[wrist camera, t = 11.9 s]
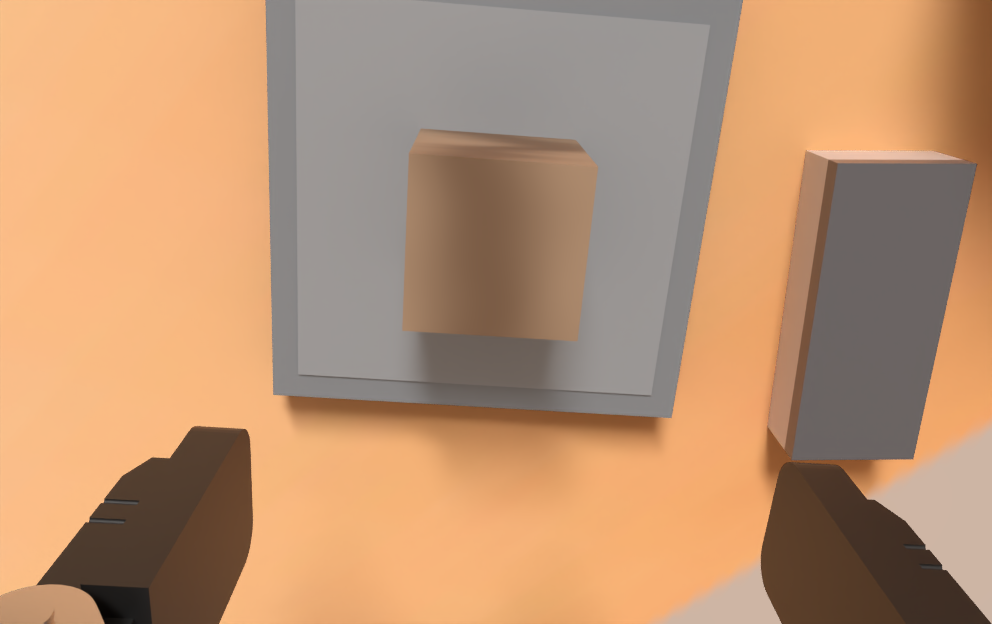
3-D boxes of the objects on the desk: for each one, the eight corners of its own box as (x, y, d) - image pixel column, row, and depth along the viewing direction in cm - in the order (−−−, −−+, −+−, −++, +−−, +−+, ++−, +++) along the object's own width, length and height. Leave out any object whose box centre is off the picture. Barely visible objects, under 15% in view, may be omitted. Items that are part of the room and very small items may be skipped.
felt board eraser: (802, 149, 31) (837, 163, 28) (928, 149, 31) (977, 163, 28) (764, 422, 35) (791, 460, 32) (876, 421, 36) (913, 459, 33)
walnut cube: (575, 139, 28) (598, 166, 23) (560, 286, 30) (577, 341, 25) (421, 128, 28) (409, 153, 23) (414, 277, 30) (402, 330, 25)
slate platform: (726, -3, 29) (744, -5, 27) (660, 396, 34) (671, 419, 32) (278, -42, 28) (263, -46, 26) (284, 373, 34) (272, 396, 32)
